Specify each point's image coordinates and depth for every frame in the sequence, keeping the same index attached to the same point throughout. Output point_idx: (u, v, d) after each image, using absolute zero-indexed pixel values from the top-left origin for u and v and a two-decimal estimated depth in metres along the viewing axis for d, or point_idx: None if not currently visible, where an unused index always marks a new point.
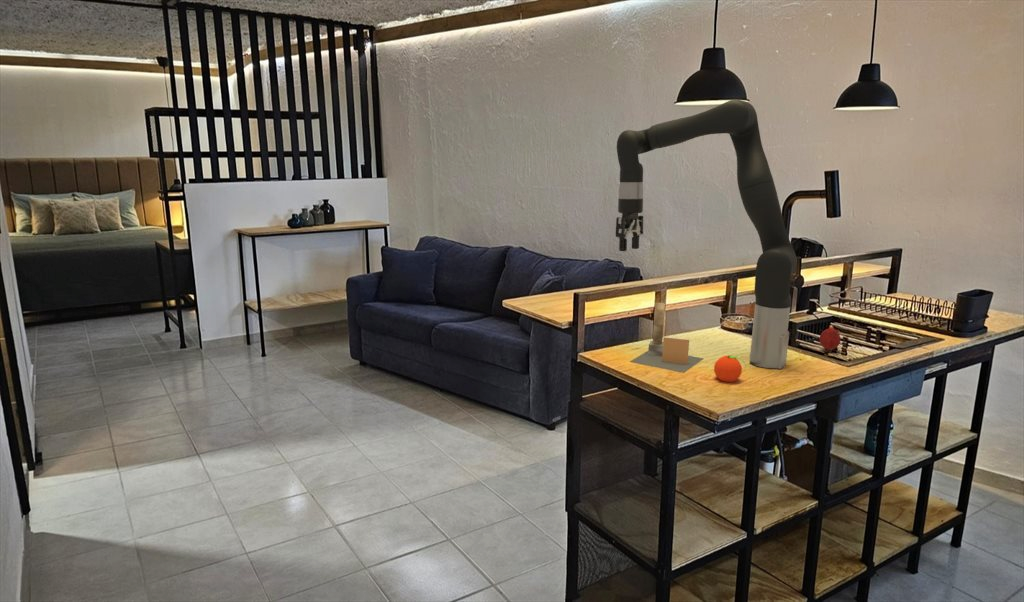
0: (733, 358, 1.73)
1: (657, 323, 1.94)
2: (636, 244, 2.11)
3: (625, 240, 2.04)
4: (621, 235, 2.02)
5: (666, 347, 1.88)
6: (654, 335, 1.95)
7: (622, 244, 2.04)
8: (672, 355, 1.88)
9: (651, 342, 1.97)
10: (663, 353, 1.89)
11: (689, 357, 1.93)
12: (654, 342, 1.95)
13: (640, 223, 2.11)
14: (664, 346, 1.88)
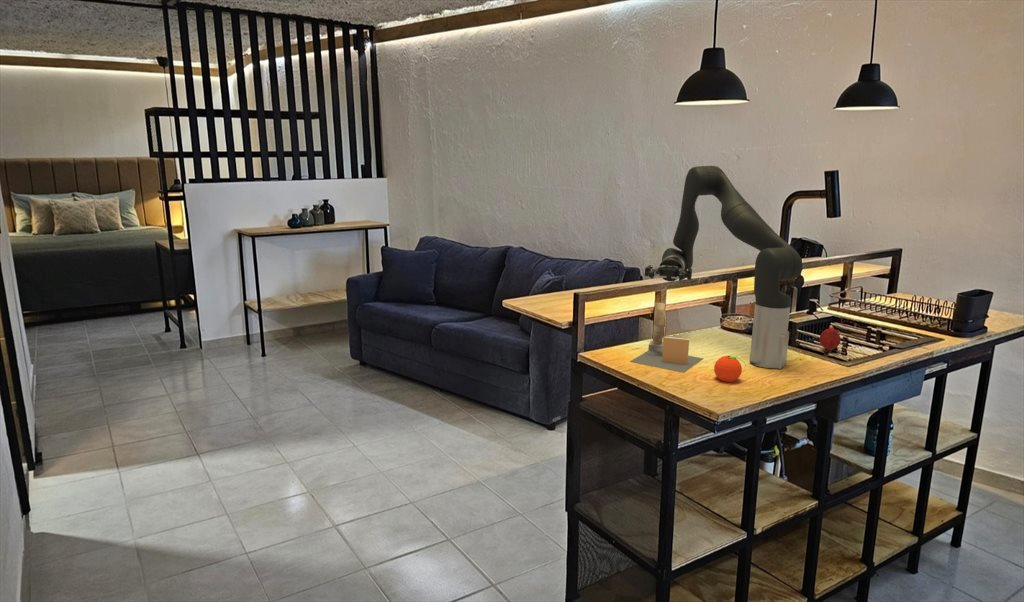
0: (733, 358, 1.73)
1: (657, 323, 1.94)
2: None
3: (652, 270, 2.07)
4: (645, 269, 2.10)
5: (666, 347, 1.88)
6: (654, 335, 1.95)
7: (649, 272, 2.07)
8: (672, 355, 1.88)
9: (651, 342, 1.97)
10: (663, 353, 1.89)
11: (689, 357, 1.93)
12: (654, 342, 1.95)
13: (688, 271, 2.08)
14: (664, 346, 1.88)
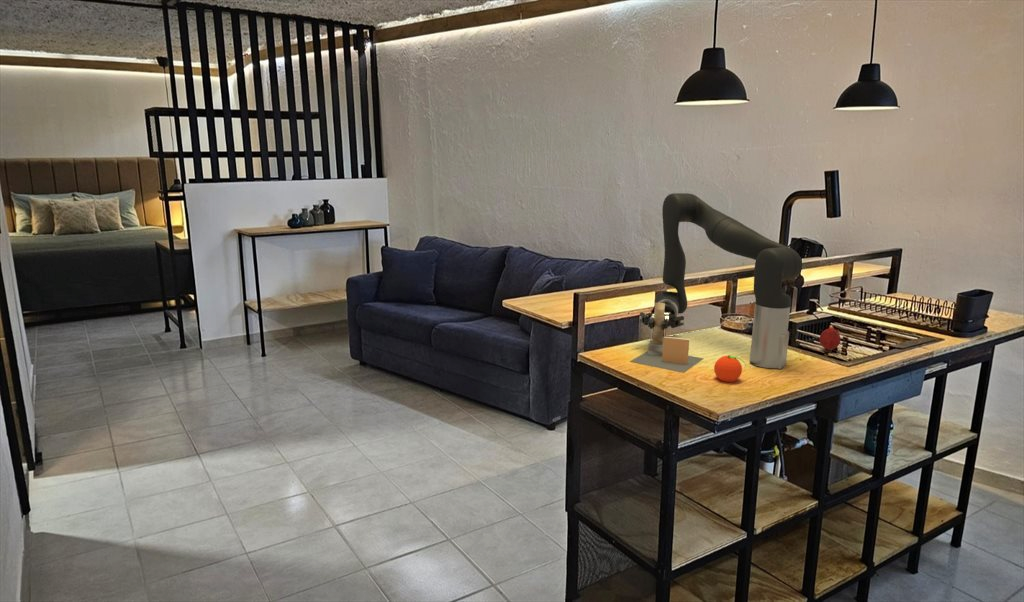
0: (733, 358, 1.73)
1: (657, 323, 1.94)
2: None
3: (652, 319, 1.96)
4: (644, 318, 1.98)
5: (666, 347, 1.88)
6: (654, 335, 1.95)
7: (648, 322, 1.95)
8: (672, 355, 1.88)
9: (651, 342, 1.97)
10: (663, 353, 1.89)
11: (689, 357, 1.93)
12: (654, 342, 1.95)
13: None
14: (664, 346, 1.88)
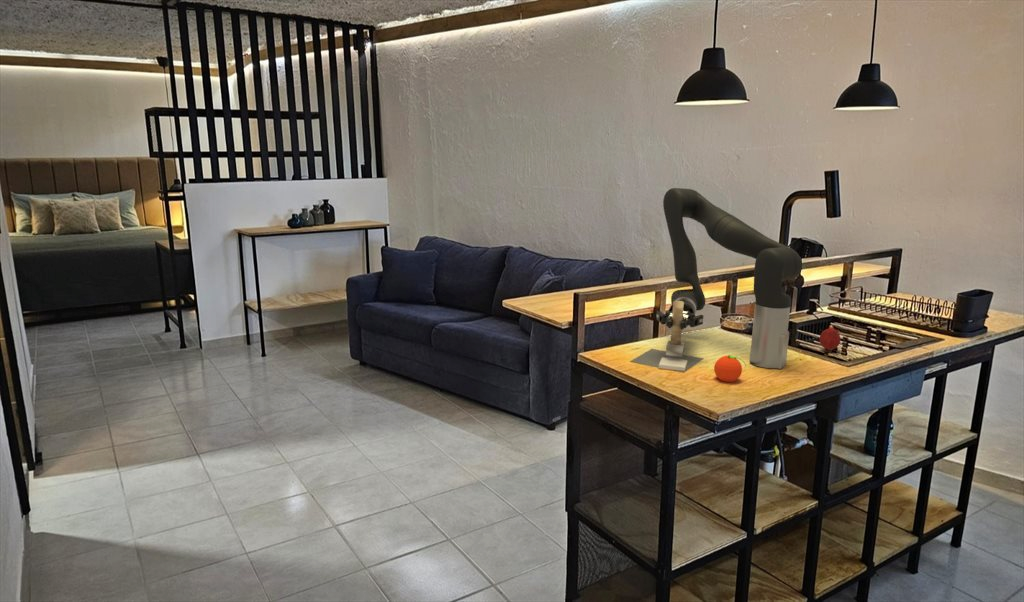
0: (733, 358, 1.73)
1: (676, 322, 1.84)
2: None
3: (670, 318, 1.87)
4: (661, 316, 1.89)
5: None
6: (672, 335, 1.86)
7: (666, 321, 1.86)
8: None
9: (669, 342, 1.88)
10: None
11: (689, 357, 1.93)
12: (672, 342, 1.86)
13: None
14: None
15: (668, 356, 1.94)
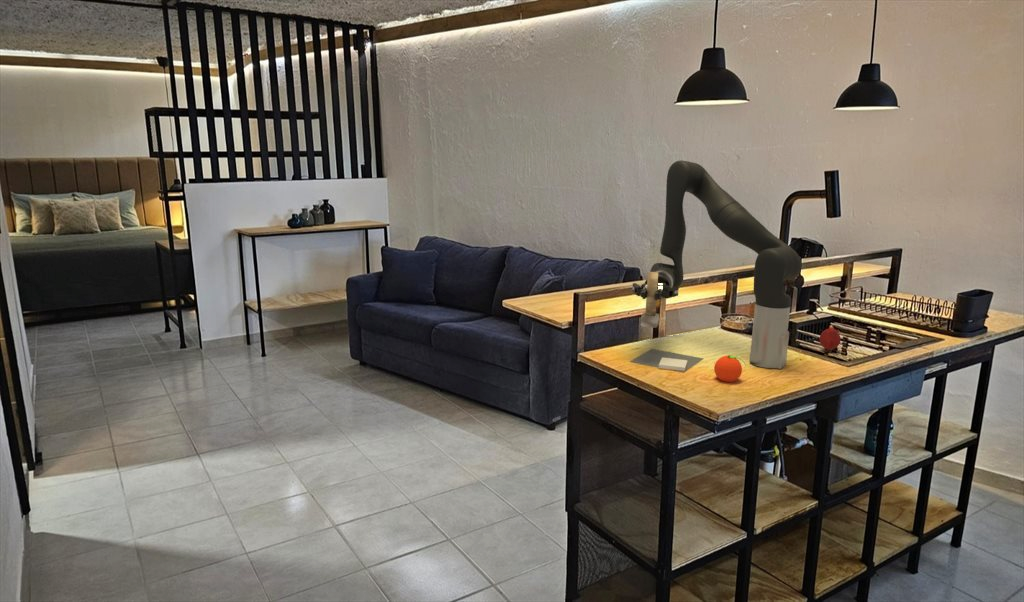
0: (733, 358, 1.73)
1: (650, 293, 1.85)
2: None
3: (644, 289, 1.87)
4: (637, 288, 1.90)
5: None
6: (647, 306, 1.86)
7: (641, 292, 1.86)
8: None
9: (644, 314, 1.89)
10: None
11: (689, 357, 1.93)
12: (647, 313, 1.87)
13: None
14: None
15: (668, 356, 1.94)
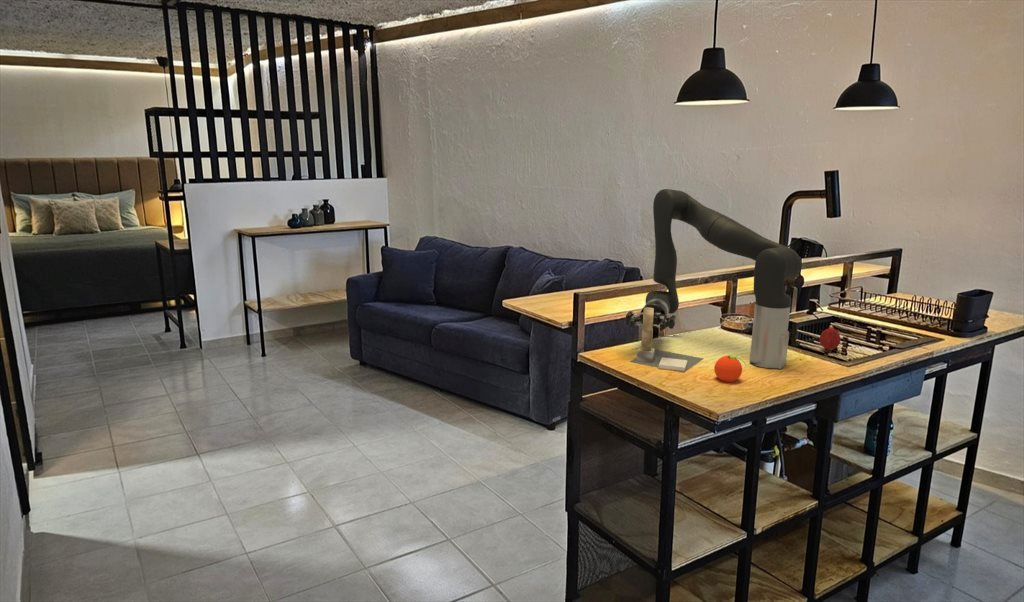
0: (733, 358, 1.73)
1: (646, 328, 1.87)
2: None
3: None
4: (626, 316, 1.93)
5: None
6: (643, 341, 1.89)
7: (630, 321, 1.90)
8: None
9: (640, 348, 1.91)
10: None
11: (689, 357, 1.93)
12: (643, 348, 1.89)
13: (670, 318, 1.92)
14: None
15: (668, 356, 1.94)
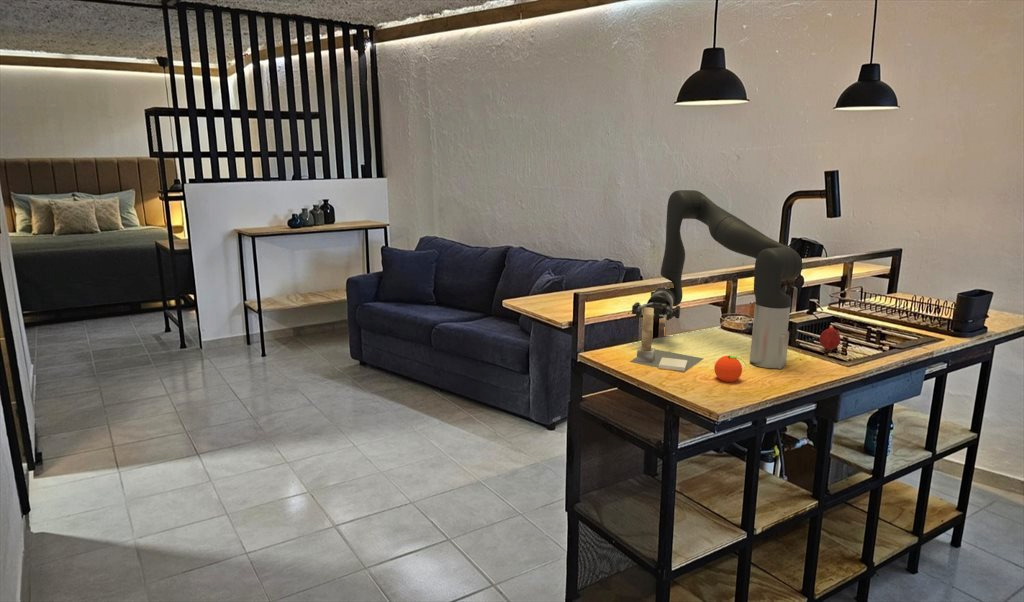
0: (733, 358, 1.73)
1: (646, 328, 1.87)
2: (667, 313, 1.98)
3: None
4: (632, 307, 2.05)
5: None
6: (643, 341, 1.89)
7: (636, 311, 2.02)
8: None
9: (640, 348, 1.91)
10: None
11: (689, 357, 1.93)
12: (643, 348, 1.89)
13: (676, 308, 2.04)
14: None
15: (668, 356, 1.94)
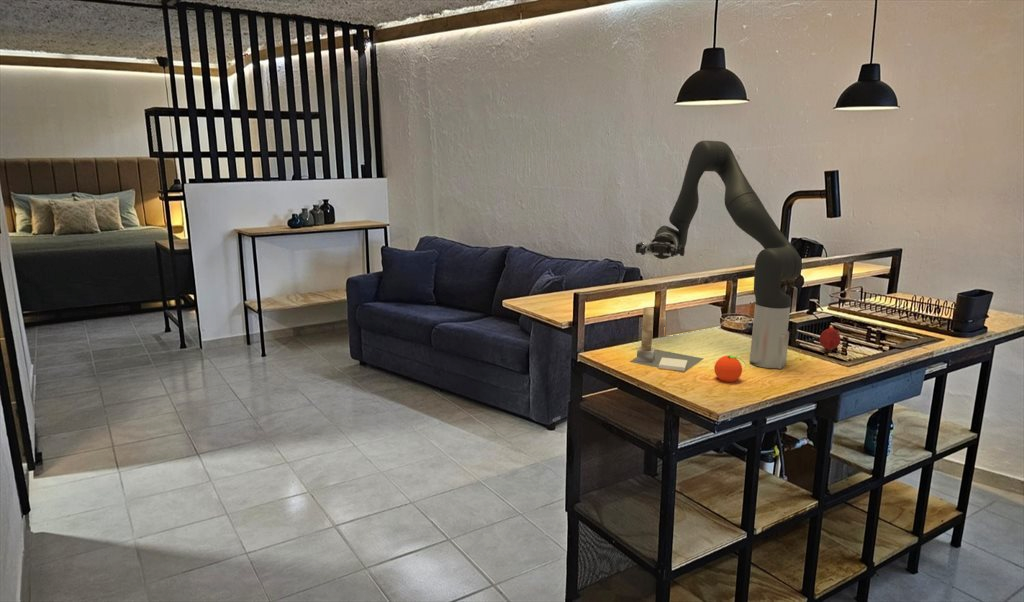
0: (733, 358, 1.73)
1: (646, 328, 1.87)
2: None
3: (643, 246, 1.99)
4: (636, 245, 2.01)
5: None
6: (643, 341, 1.89)
7: None
8: None
9: (640, 348, 1.91)
10: None
11: (689, 357, 1.93)
12: (643, 348, 1.89)
13: (680, 247, 2.00)
14: None
15: (668, 356, 1.94)
